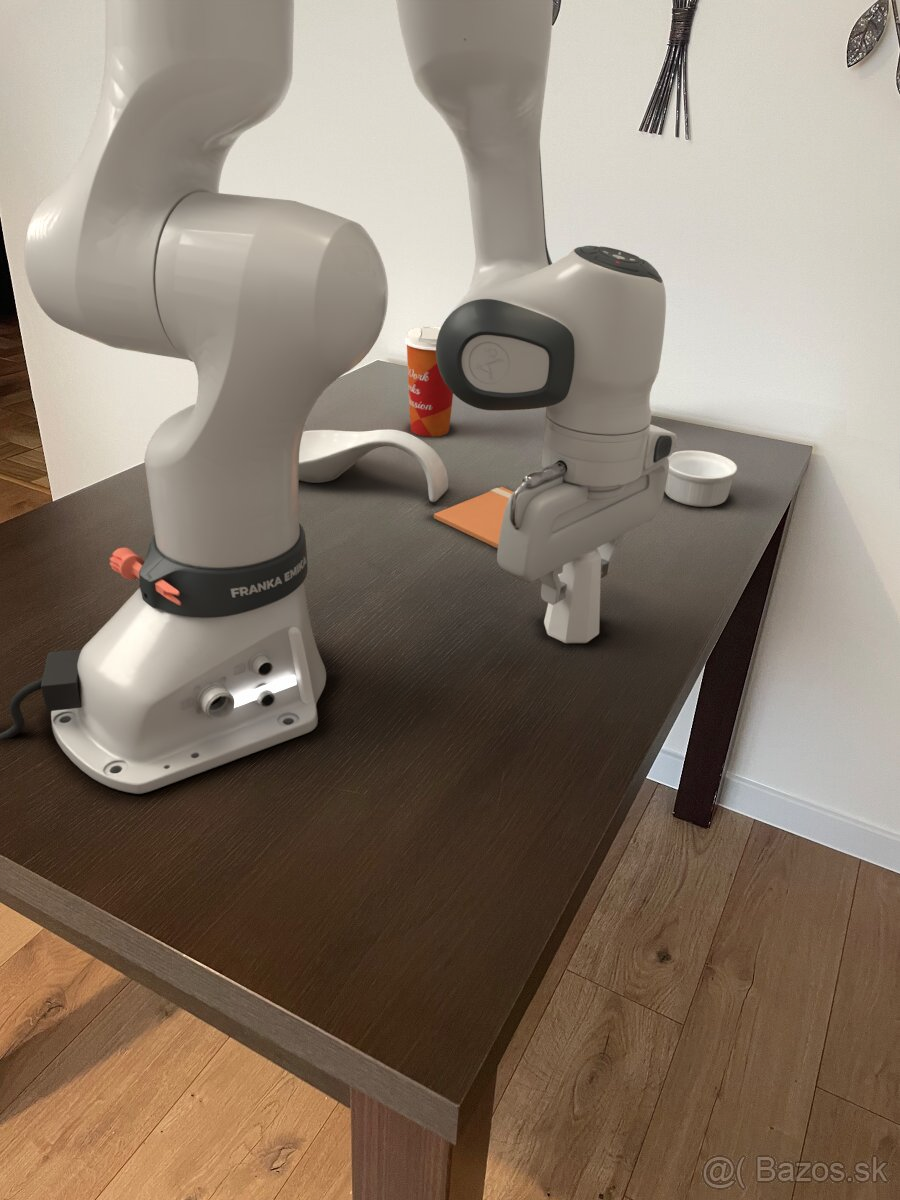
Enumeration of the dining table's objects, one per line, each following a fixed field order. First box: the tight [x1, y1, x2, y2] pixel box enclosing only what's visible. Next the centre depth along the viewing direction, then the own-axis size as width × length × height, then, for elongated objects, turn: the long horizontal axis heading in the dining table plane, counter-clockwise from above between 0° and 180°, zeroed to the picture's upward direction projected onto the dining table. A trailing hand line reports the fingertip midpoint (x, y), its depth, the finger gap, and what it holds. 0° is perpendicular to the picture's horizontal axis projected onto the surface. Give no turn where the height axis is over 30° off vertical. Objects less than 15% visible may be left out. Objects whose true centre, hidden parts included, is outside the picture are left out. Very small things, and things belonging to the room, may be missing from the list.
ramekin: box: [664, 450, 738, 508], centre depth 116 cm, size 9×9×4 cm
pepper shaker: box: [543, 548, 602, 644], centre depth 86 cm, size 5×5×11 cm
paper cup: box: [404, 325, 454, 437], centre depth 130 cm, size 8×8×14 cm
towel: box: [433, 486, 514, 549], centre depth 108 cm, size 12×14×1 cm
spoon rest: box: [299, 429, 449, 503], centre depth 115 cm, size 24×12×7 cm, turn 70°
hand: (575, 587), depth 86 cm, fingers open, 5 cm apart
